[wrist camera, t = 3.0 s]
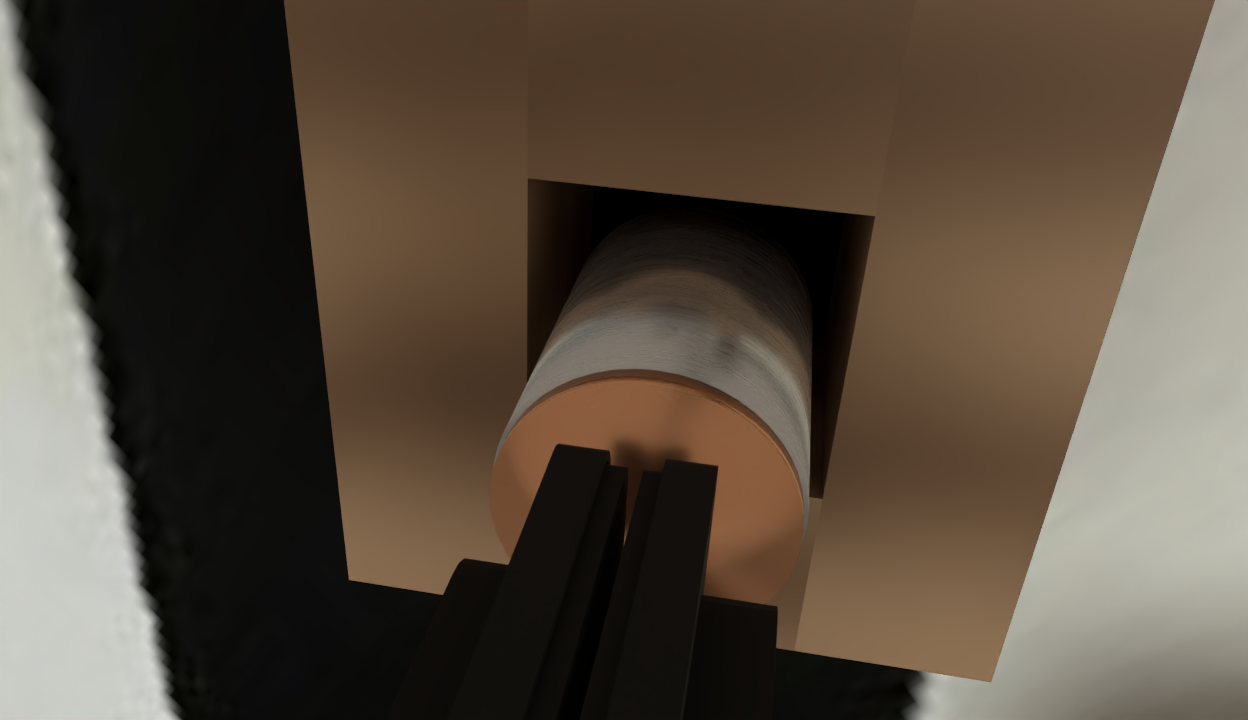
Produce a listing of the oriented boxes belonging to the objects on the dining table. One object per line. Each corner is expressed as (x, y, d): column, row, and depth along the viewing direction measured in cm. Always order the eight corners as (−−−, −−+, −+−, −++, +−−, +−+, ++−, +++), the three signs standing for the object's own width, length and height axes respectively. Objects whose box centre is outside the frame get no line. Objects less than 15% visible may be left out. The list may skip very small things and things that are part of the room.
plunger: (576, 193, 15) (482, 359, 11) (830, 221, 14) (832, 404, 10) (571, 404, 17) (488, 613, 13) (795, 434, 16) (785, 661, 12)
